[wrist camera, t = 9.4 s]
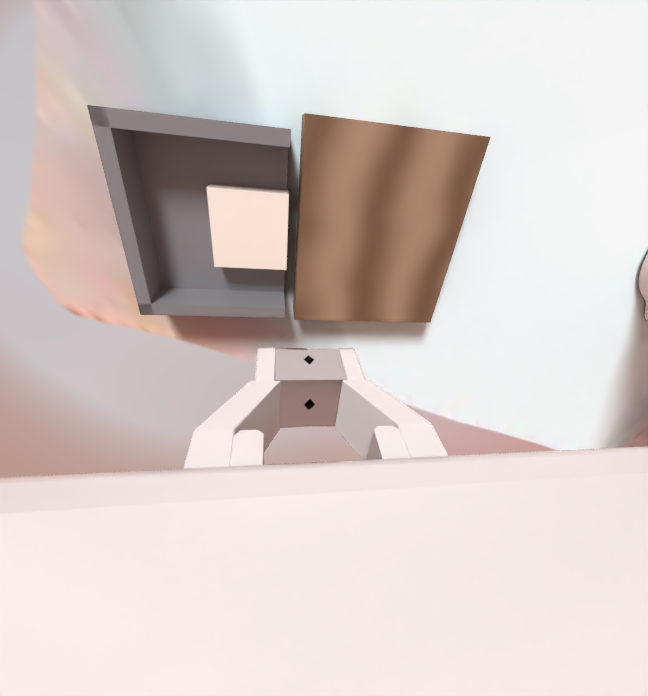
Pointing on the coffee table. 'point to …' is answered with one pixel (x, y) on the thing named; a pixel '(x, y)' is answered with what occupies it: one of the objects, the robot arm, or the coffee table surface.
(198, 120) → the box
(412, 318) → the board
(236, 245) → the tile
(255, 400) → the robot arm
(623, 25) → the coffee table surface
